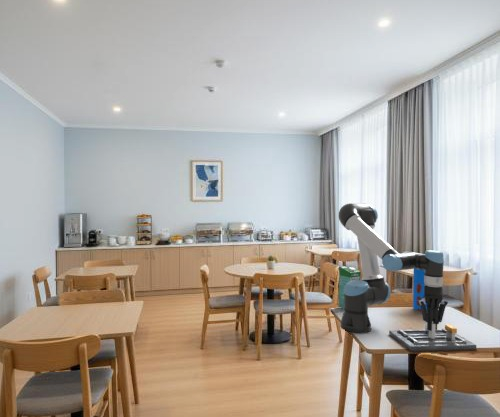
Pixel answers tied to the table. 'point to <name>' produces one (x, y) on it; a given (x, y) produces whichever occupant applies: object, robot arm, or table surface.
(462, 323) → the table surface
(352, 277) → the milk carton
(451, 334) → the fader
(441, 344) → the console
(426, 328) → the fader
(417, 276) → the thermos
